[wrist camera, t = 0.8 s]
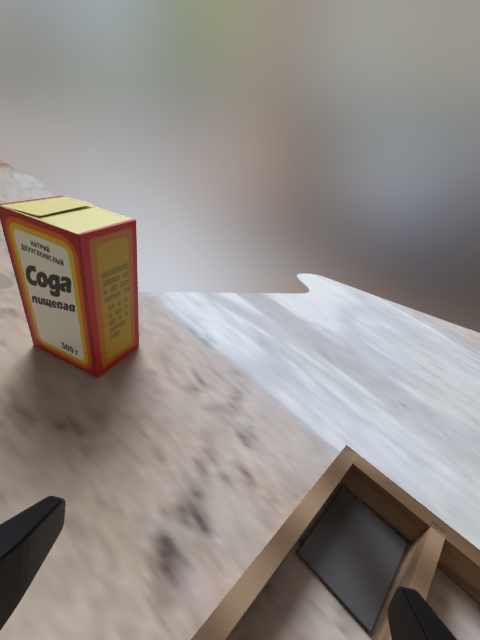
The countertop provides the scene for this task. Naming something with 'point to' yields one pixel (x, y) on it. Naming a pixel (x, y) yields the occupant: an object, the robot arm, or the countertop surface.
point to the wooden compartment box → (356, 548)
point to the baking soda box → (75, 278)
